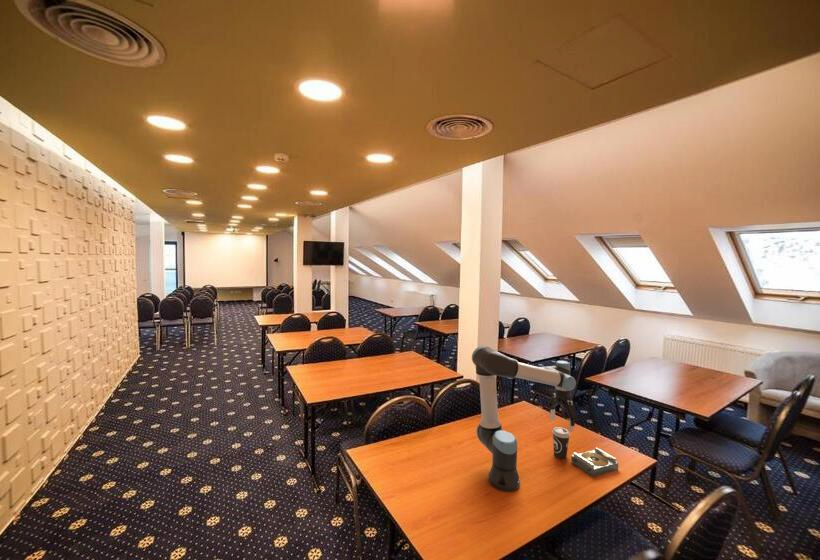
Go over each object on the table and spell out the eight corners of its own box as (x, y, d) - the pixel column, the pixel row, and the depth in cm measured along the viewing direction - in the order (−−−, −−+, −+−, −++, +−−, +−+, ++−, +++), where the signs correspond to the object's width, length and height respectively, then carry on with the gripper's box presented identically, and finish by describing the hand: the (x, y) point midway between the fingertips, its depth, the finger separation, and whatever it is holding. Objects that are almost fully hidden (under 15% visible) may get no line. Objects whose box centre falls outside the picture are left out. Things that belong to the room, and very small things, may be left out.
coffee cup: (567, 462, 188) (568, 436, 188) (549, 456, 194) (549, 430, 194) (571, 455, 196) (572, 429, 196) (553, 449, 202) (554, 424, 201)
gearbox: (592, 477, 176) (592, 466, 176) (570, 462, 189) (570, 452, 189) (618, 470, 182) (618, 459, 182) (595, 456, 195) (595, 446, 195)
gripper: (585, 395, 183) (584, 434, 184) (551, 381, 207) (550, 415, 208) (575, 397, 181) (574, 437, 182) (541, 382, 204) (540, 417, 205)
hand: (561, 425), depth 195 cm, fingers open, 13 cm apart
